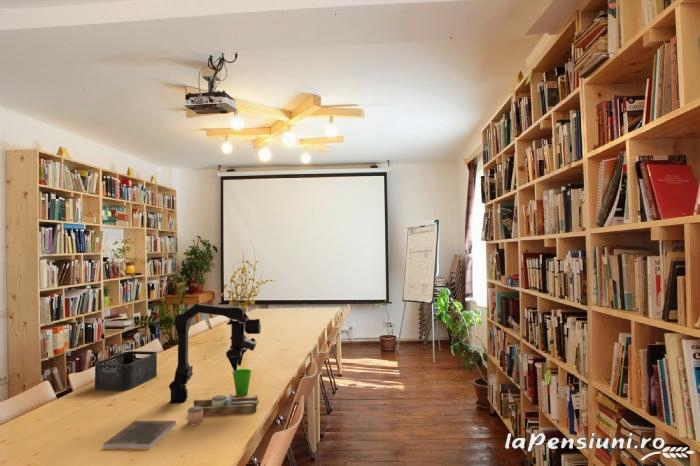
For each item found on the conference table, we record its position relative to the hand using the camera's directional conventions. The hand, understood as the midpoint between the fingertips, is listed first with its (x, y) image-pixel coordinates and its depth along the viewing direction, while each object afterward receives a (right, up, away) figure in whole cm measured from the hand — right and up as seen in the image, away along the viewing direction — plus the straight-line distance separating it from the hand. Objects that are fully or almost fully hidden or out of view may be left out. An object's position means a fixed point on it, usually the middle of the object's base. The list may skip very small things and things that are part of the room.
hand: (237, 368), depth 208 cm
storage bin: (-65, -17, +29) cm, 74 cm away
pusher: (+6, -13, -13) cm, 20 cm away
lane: (-2, -14, -14) cm, 20 cm away
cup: (0, -15, +6) cm, 16 cm away
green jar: (-4, -14, -15) cm, 20 cm away
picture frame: (-25, -13, -42) cm, 50 cm away
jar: (-10, -13, -28) cm, 33 cm away
